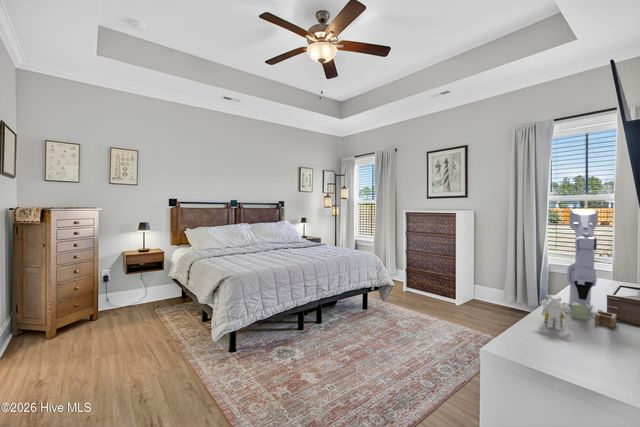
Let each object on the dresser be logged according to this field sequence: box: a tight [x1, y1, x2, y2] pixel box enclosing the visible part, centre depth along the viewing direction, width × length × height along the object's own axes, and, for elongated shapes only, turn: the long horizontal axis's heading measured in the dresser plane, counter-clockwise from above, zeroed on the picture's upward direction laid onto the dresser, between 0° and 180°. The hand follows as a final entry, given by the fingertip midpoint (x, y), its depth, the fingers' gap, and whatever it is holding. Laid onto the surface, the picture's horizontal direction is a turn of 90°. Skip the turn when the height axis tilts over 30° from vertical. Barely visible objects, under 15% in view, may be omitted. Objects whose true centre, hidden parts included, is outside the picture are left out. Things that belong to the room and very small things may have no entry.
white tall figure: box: [544, 294, 564, 325], centre depth 118 cm, size 5×5×10 cm
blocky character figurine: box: [539, 293, 572, 331], centre depth 112 cm, size 9×4×12 cm, turn 43°
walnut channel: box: [561, 302, 617, 328], centre depth 122 cm, size 10×16×4 cm, turn 43°
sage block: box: [570, 302, 591, 321], centre depth 124 cm, size 5×5×5 cm
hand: (582, 299), depth 127 cm, fingers closed
